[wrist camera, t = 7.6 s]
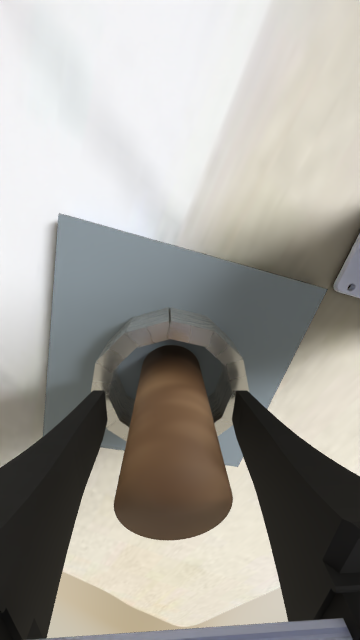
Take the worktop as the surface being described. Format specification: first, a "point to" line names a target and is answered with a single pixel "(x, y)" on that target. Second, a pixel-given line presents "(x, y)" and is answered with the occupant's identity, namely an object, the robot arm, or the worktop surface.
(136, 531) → the walnut pin
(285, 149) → the worktop surface
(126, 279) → the ring collar board
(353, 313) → the worktop surface
